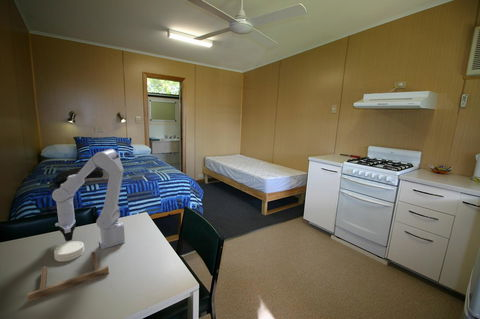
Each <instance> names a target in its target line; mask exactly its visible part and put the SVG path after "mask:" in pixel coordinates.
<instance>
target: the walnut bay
mask: <svg viewBox="0 0 480 319" xmlns="http://www.w3.org/2000/svg"><path fill="white" fill-rule="evenodd" d="M91 260H92V264H93V269H94V270H92V271H89V272H86V273H82V274H80V275H78V276H75V277H71V278H68V279H65V280H62V281H60V282H57V283H54V284H52V285H51V284H50V285H48V286H47V283H48V282H47V278H48V266H47V265H45V266H42V267H41V276H40V285H39V289H37V290H34V291H30V292H28V293H27V296H26V297H27V302H29V303H31V302H34V301H36V300H40V299H42V298H45V297H47V296H51V295H53V294H56V293H58V292H62V291H63V290H67V289H70V288H72V287H75V286H78V285H81V284H83V283H86V282H89V281H93V280H95V279H98V278H100V277H103V276H105V275H109V274H110V271H109V266H108V265H107V266H104V267H99V262H98V259H97V253H96V251H91ZM33 300H34V301H33Z"/></svg>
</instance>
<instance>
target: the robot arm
mask: <svg viewBox="0 0 480 319" xmlns="http://www.w3.org/2000/svg"><path fill="white" fill-rule="evenodd" d="M96 168H100V169H102V170H103V171H105V172H107V173H108V181H107V186H106V193H105V198H104V204H103V208H102V210H101V211H100V212H99V216H98V217H97V218H96V221H95V222H96V226H97V227H98V228H99V231H100V232H99V233H100V239H99V241H98V242H99V244H100V248H101V249H102V250H105V249H108V248H111V247H114V246H117V245H122V244H125V243H126V240H125V239H126V238H125V237H126V236H125V225H124V222H123V221H119V218H120V217H121V212H120V206H119V205H118V204H119V199H120V193H121V190H122V189H121V188H122V183H123V177H124V172H125V169H124V166H123V163H122V161H121V155H120V154H119V153H118V152H117V151H116V150H115V149H113V148H108V149H106V150H103V151H99V152H96V153H95V154H93V156H91V157H89V160H88V161H87V162H86V163H85V164H84V165H83V167H82V168H81V169H80V170H79V171H78V172H77V173H75V174H71V175H68V176H67V177H66V181H64V182H63V183H61V184H60V185H59V186H60V187H59V188H57V189H54V190H53V191H52V193H51V198H52V199H53V200H54V201H55V202H56V209H57V217H58V222H56V223H55V224H54V226H55V227H58V229H59V232H60V233H61V234H62V235H63V238H64V240H65V242H71V241H73V235H74V231H75V229H76V219H75V218H76V217H75V208H74V196H75V195H76V192H77V191H79V189H80V188H81V187H82V186H83V185H84V184H85V178H87V176H89V175H90V174H91V173H92V172H93V171H94V170H95V169H96Z"/></svg>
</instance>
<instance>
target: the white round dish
mask: <svg viewBox="0 0 480 319" xmlns="http://www.w3.org/2000/svg"><path fill="white" fill-rule="evenodd" d="M84 253H85V244H84V242H82V241H78V240H75V241H73V240H72V241H67V242H65V243H62V244H61V245H59V246H57V248H55V249H54V251H53V255H54V260H55V261H57V262H68V261H72V260H74V259H77V258H79V257H81V256H82V255H83V254H84Z"/></svg>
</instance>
